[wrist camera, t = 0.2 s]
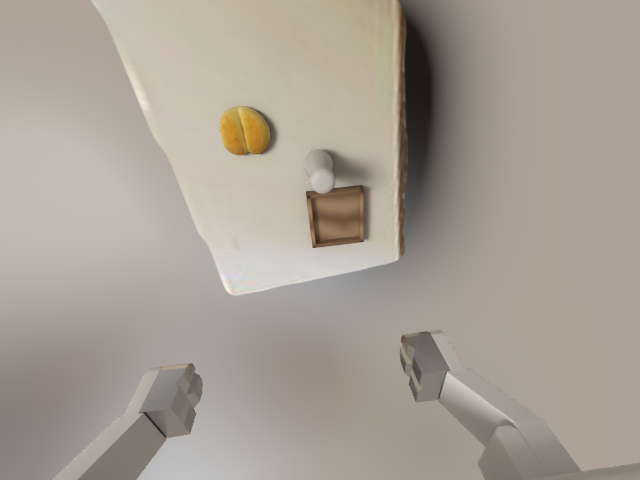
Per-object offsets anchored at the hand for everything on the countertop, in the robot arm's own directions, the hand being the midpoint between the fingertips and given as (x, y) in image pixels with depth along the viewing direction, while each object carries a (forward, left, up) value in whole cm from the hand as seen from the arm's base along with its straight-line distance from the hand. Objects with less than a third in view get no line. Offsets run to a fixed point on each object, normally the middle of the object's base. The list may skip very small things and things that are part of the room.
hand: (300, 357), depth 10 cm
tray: (+18, +7, -47) cm, 51 cm away
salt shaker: (+5, +4, -47) cm, 48 cm away
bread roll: (-2, -9, -48) cm, 48 cm away
